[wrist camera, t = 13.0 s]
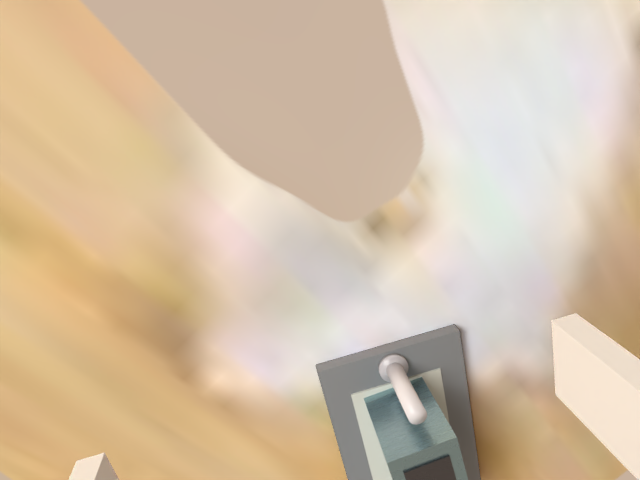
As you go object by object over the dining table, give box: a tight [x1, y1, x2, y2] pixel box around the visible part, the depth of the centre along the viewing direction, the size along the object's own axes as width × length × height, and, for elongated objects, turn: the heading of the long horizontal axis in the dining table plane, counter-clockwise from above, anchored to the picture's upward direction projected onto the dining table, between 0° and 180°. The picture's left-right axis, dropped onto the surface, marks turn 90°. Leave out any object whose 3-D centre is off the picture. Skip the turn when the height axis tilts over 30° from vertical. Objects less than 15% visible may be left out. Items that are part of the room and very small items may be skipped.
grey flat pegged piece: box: [316, 325, 481, 480], centre depth 45 cm, size 14×20×8 cm
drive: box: [364, 377, 468, 480], centre depth 43 cm, size 6×12×8 cm, turn 18°
